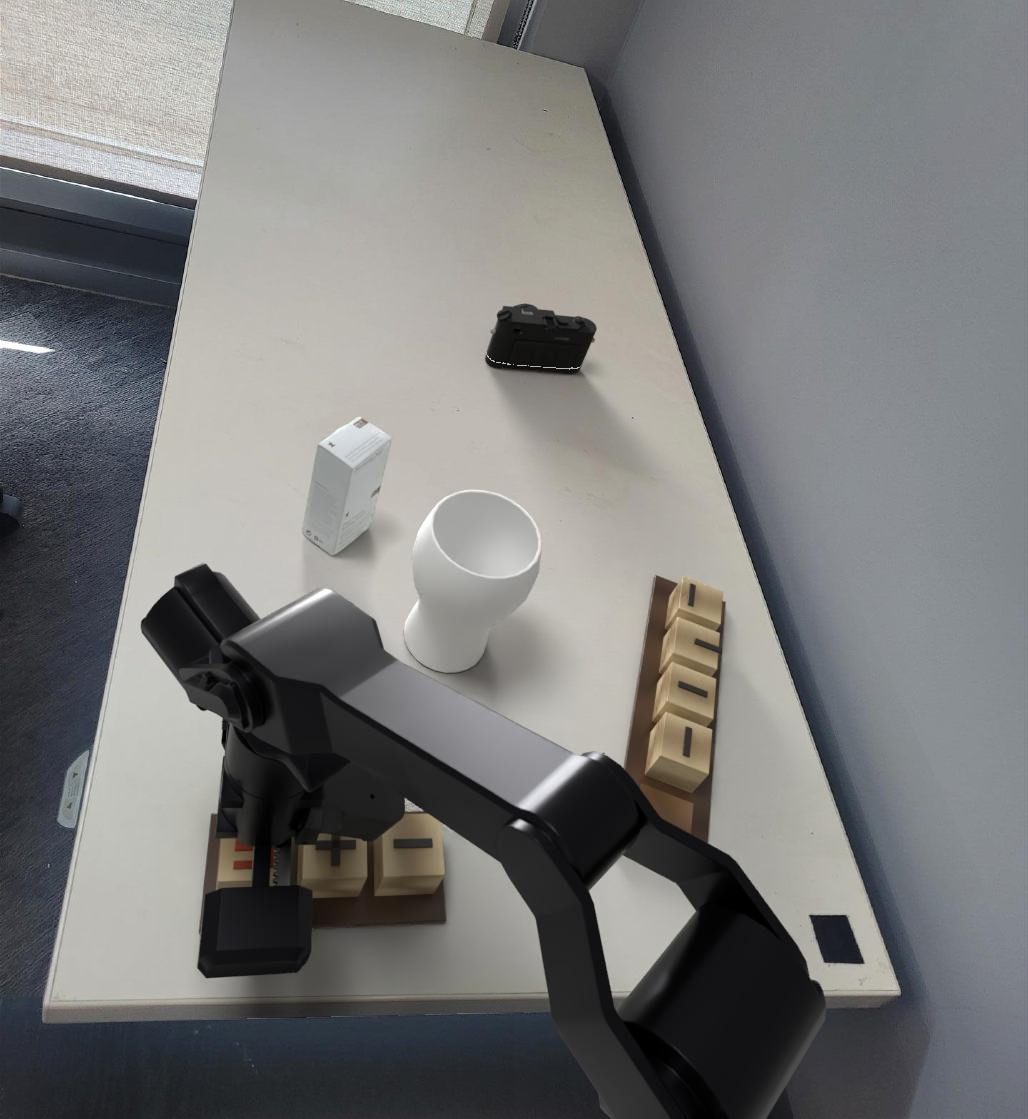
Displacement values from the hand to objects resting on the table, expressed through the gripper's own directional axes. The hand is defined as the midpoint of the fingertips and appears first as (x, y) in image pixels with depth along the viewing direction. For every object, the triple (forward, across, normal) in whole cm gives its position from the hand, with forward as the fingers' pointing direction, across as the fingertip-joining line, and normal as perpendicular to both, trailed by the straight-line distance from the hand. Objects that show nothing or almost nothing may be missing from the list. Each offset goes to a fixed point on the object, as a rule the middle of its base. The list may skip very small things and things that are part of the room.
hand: (252, 860), depth 63 cm
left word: (+2, 0, -5) cm, 6 cm away
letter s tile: (+1, 0, 0) cm, 1 cm away
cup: (+2, +20, -16) cm, 26 cm away
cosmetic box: (+2, +32, -6) cm, 33 cm away
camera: (+2, +64, -31) cm, 72 cm away
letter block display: (+2, +14, -38) cm, 40 cm away
